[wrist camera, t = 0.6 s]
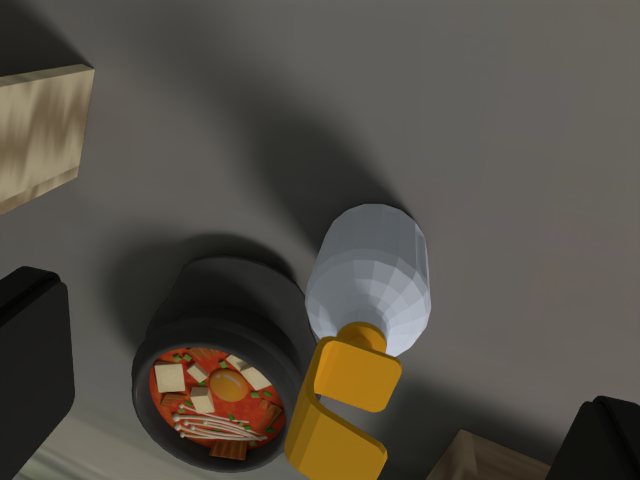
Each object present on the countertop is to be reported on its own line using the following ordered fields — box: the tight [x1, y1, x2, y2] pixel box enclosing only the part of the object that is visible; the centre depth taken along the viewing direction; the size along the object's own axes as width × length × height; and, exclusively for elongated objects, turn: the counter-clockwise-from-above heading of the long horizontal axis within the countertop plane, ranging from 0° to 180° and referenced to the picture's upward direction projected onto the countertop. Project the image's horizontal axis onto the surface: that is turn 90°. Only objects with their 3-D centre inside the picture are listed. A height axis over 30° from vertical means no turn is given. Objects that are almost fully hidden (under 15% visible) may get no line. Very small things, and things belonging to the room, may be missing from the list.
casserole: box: [131, 255, 321, 473], centre depth 49 cm, size 25×19×8 cm
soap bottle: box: [284, 204, 431, 480], centre depth 35 cm, size 9×9×25 cm
